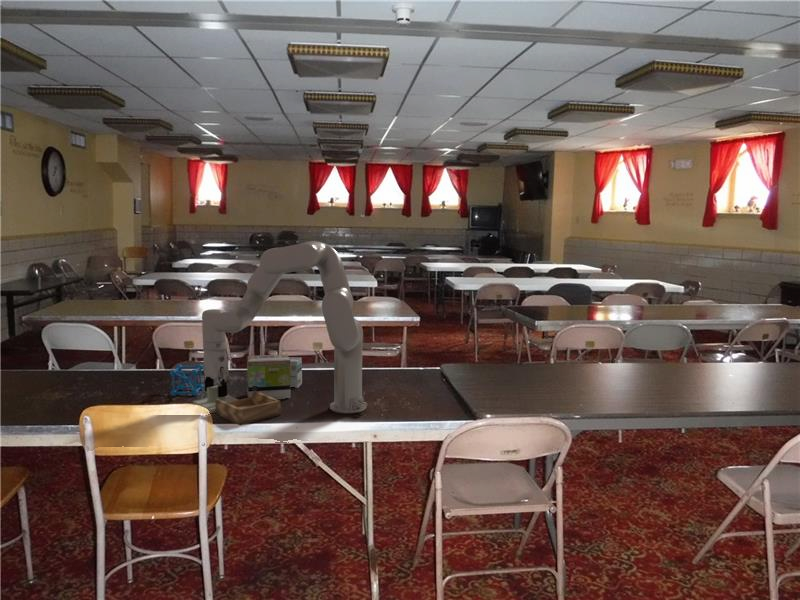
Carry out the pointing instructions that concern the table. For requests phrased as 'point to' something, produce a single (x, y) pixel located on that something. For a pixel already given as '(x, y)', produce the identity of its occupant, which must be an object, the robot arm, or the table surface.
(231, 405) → the oak box
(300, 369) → the light bulb box
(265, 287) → the robot arm
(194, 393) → the molecular structure
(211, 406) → the cover plate
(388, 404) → the table surface
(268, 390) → the tea box
